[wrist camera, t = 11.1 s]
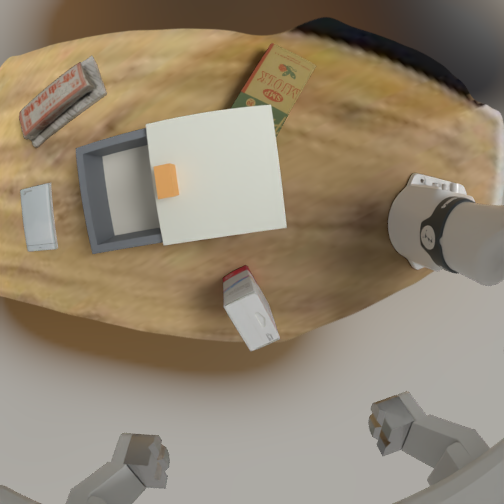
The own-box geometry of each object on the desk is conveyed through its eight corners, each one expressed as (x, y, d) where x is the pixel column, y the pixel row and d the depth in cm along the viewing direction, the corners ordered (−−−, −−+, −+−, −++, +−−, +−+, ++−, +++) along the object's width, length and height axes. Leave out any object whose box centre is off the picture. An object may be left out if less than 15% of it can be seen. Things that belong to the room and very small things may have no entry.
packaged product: (23, 148, 35) (13, 108, 33) (38, 149, 40) (26, 111, 38) (98, 87, 35) (84, 48, 32) (109, 95, 39) (95, 57, 37)
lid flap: (270, 106, 34) (274, 97, 30) (285, 226, 39) (292, 232, 34) (147, 125, 34) (137, 119, 30) (165, 244, 38) (157, 252, 34)
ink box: (221, 276, 48) (219, 305, 37) (248, 262, 48) (254, 289, 37) (245, 316, 50) (249, 353, 39) (270, 304, 50) (281, 339, 39)
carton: (311, 73, 41) (318, 65, 37) (268, 149, 44) (272, 146, 40) (268, 51, 39) (271, 41, 35) (222, 126, 42) (222, 121, 38)
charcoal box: (186, 130, 42) (177, 121, 34) (200, 227, 46) (194, 237, 38) (98, 151, 41) (75, 148, 34) (112, 242, 45) (92, 254, 38)
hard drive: (19, 189, 40) (26, 252, 43) (48, 182, 41) (55, 249, 44) (24, 189, 42) (31, 250, 45) (52, 182, 42) (59, 247, 45)
